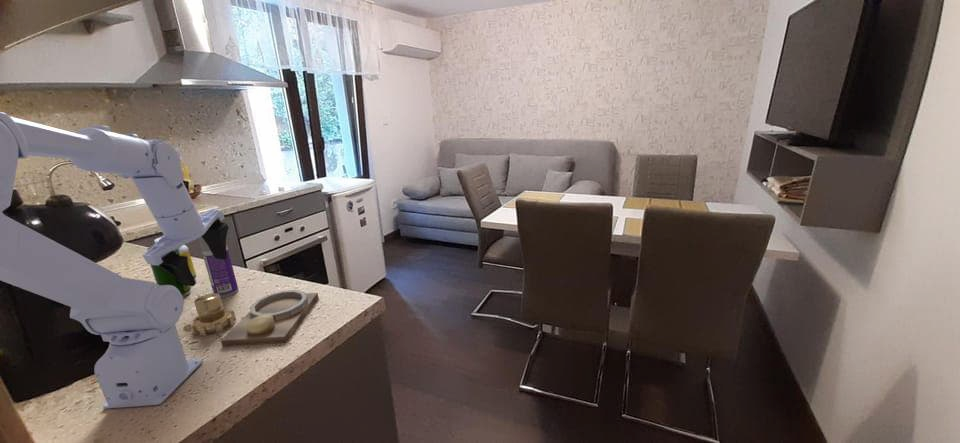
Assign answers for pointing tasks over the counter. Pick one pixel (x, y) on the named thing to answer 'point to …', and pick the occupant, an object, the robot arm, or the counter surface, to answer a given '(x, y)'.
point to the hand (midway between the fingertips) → (206, 270)
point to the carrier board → (280, 324)
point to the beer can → (169, 278)
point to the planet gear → (211, 315)
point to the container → (219, 271)
